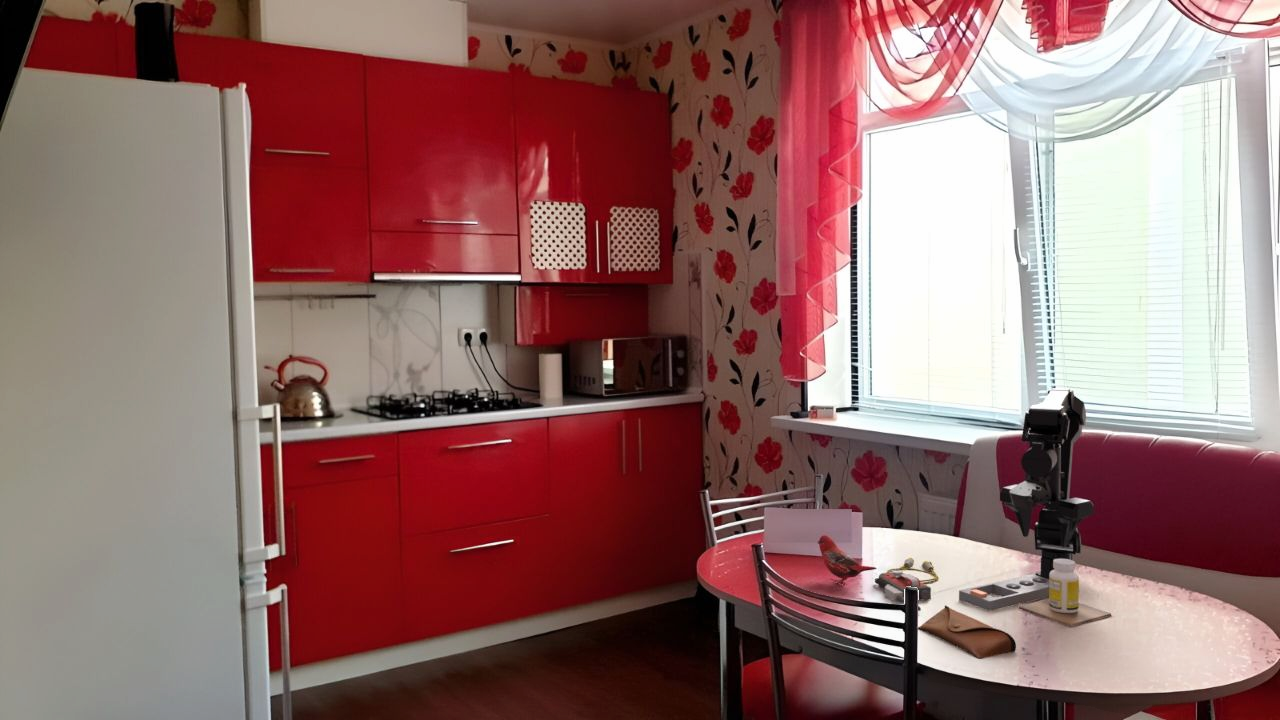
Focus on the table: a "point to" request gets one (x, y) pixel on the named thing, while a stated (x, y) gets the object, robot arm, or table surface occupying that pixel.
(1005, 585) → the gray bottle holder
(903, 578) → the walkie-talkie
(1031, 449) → the robot arm
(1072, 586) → the supplement bottle
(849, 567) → the decorative bird figurine
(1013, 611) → the table surface
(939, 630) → the sunglasses case
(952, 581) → the table surface
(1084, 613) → the walnut pad
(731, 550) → the table surface
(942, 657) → the table surface
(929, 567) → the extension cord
